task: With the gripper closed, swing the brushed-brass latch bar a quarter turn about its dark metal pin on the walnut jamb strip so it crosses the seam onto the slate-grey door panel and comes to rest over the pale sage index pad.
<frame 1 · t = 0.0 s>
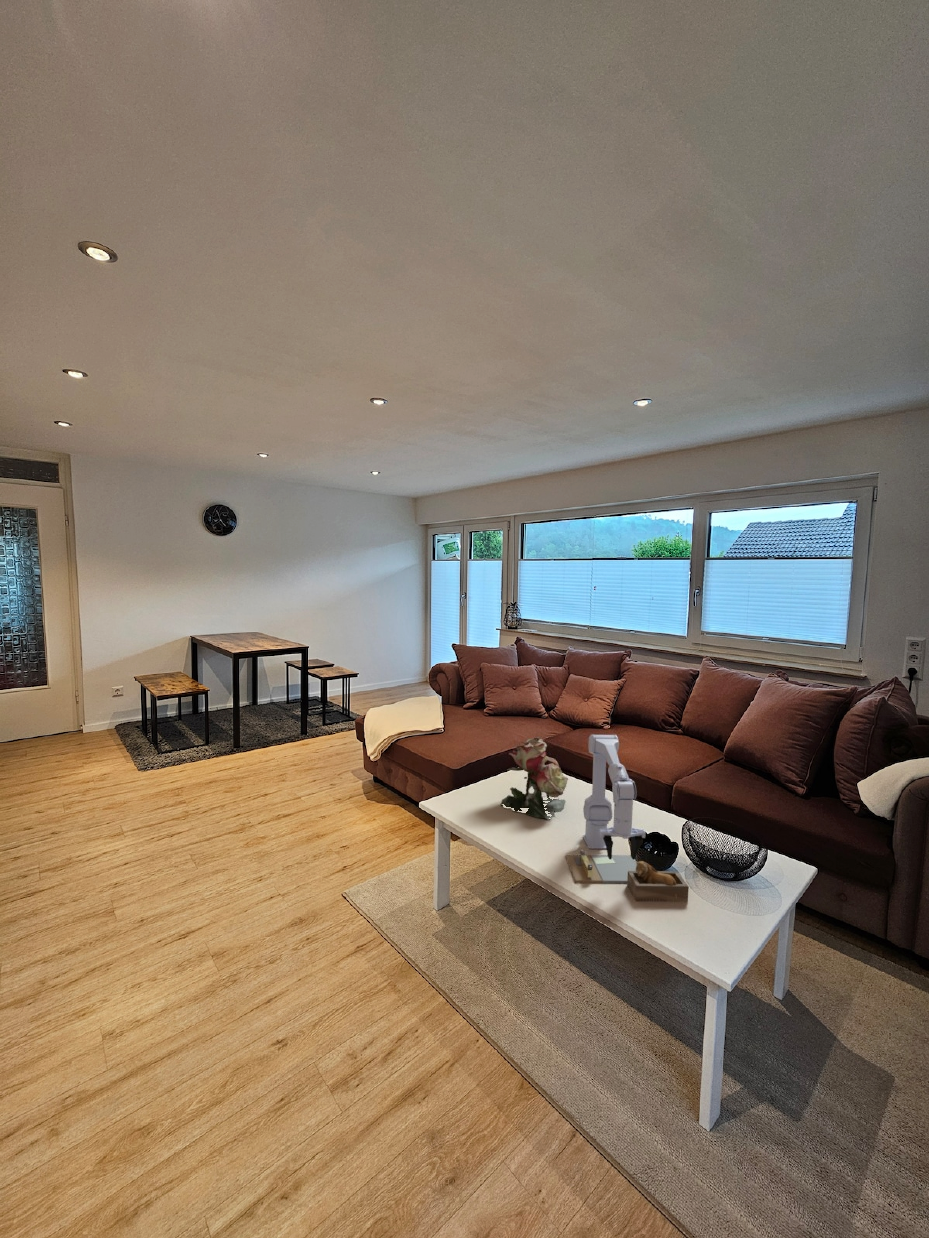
hand: (621, 857, 167), 10 cm above the table, fingers open, 7 cm apart
rose bouquet: (537, 805, 229), on the table
door board: (604, 869, 178), on the table
display tray: (656, 893, 165), on the table
latch bar: (587, 864, 175), point 3 cm above the table, hinge at 0.0°
lion figurine: (656, 893, 165), resting in display tray
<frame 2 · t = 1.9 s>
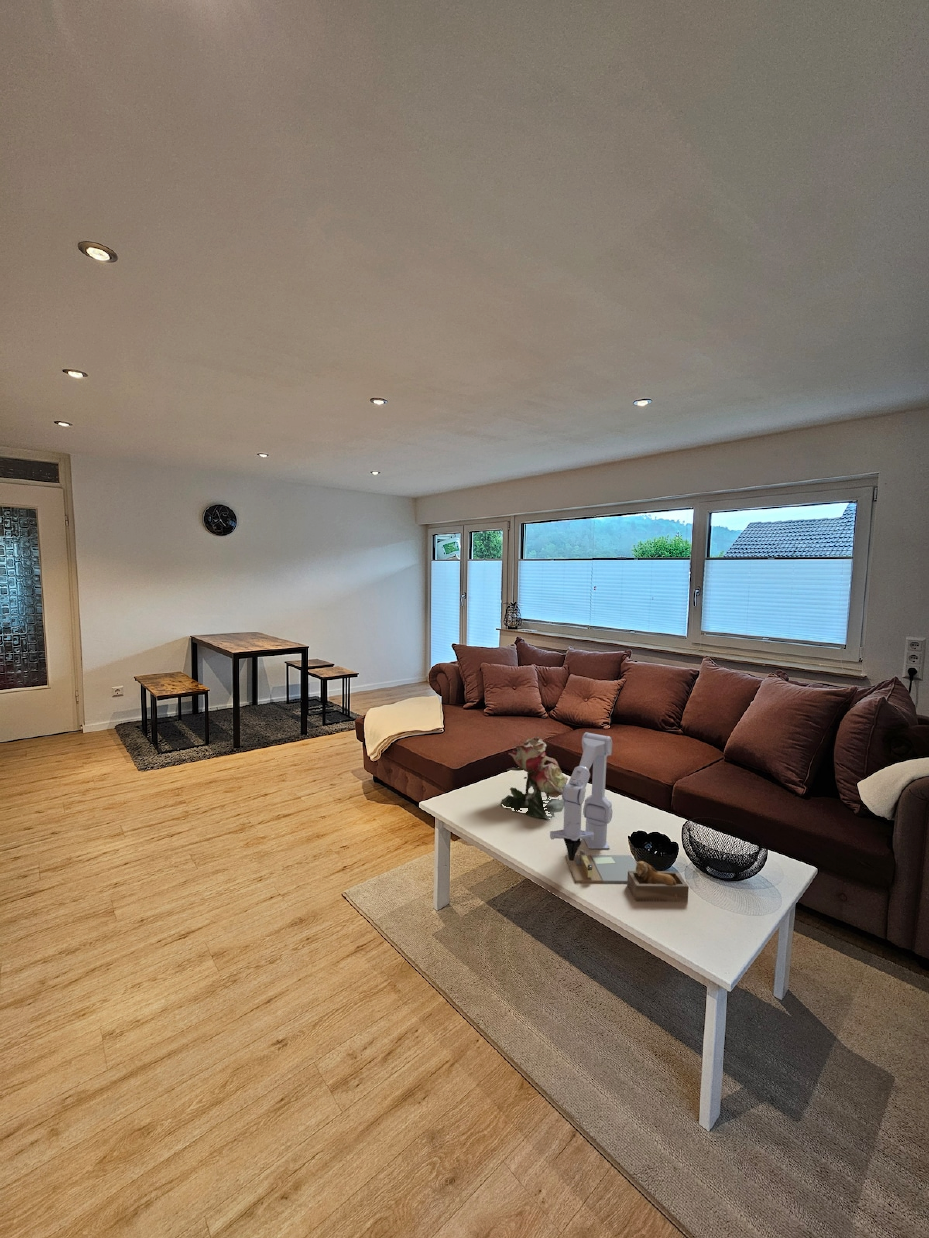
hand: (570, 859, 173), 6 cm above the table, fingers closed
nothing on the table moved.
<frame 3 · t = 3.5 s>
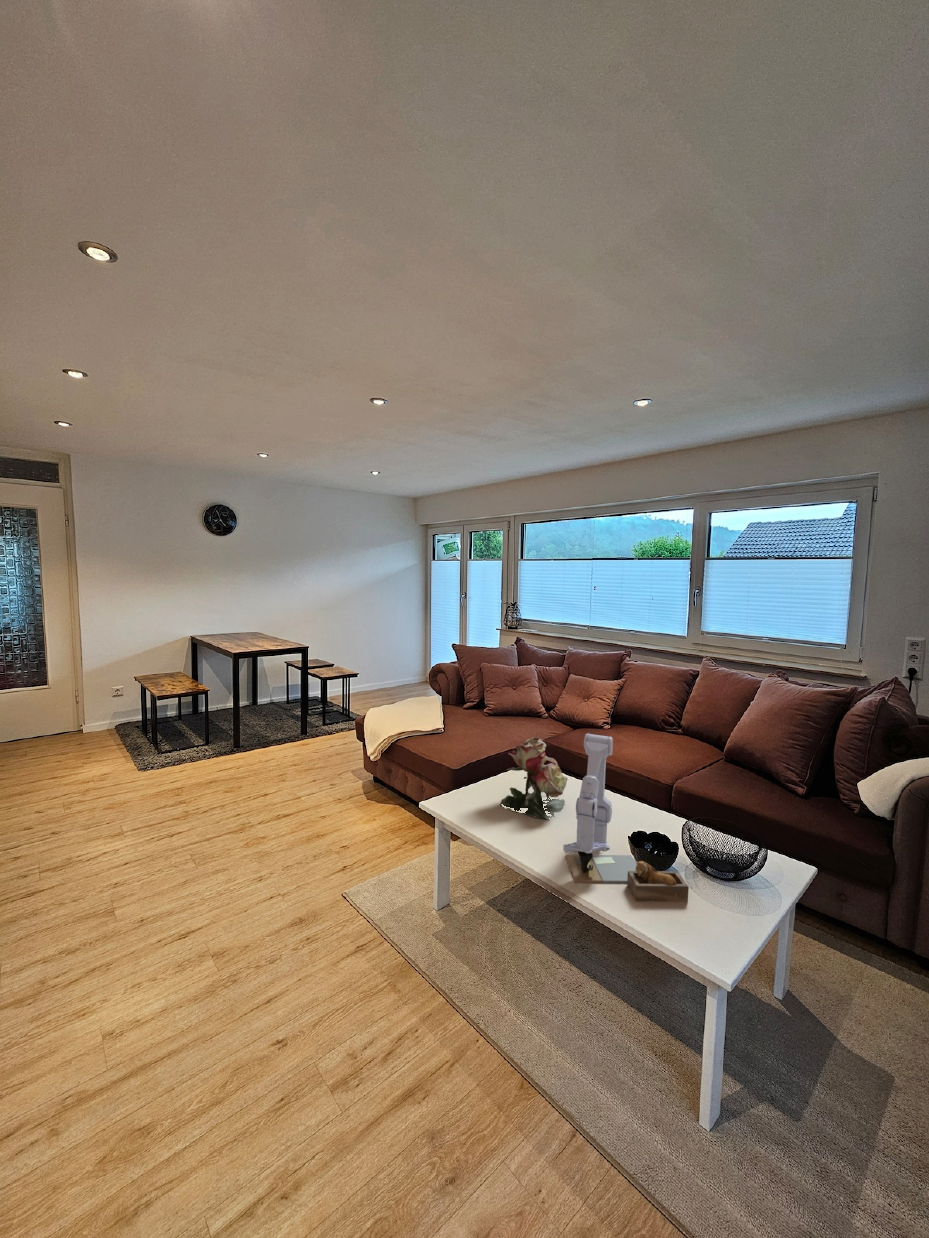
hand: (583, 871, 174), 2 cm above the table, fingers closed, pressing on latch bar
latch bar: (587, 864, 175), point 3 cm above the table, hinge at 1.8°, touching gripper
everything else where it was.
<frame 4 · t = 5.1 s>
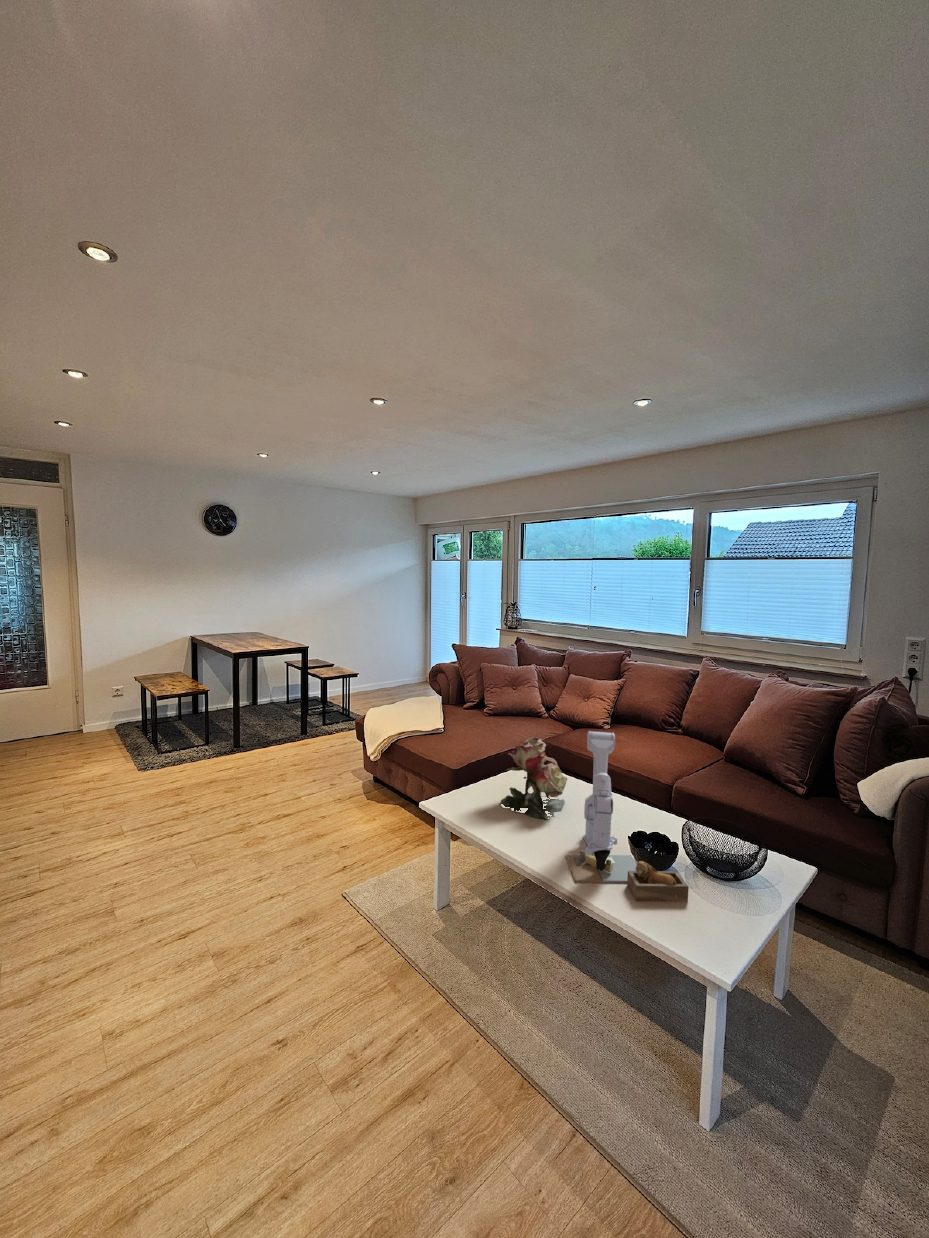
hand: (600, 869, 175), 2 cm above the table, fingers closed, pressing on latch bar
latch bar: (598, 861, 177), point 3 cm above the table, hinge at 46.7°, touching gripper
everything else where it was.
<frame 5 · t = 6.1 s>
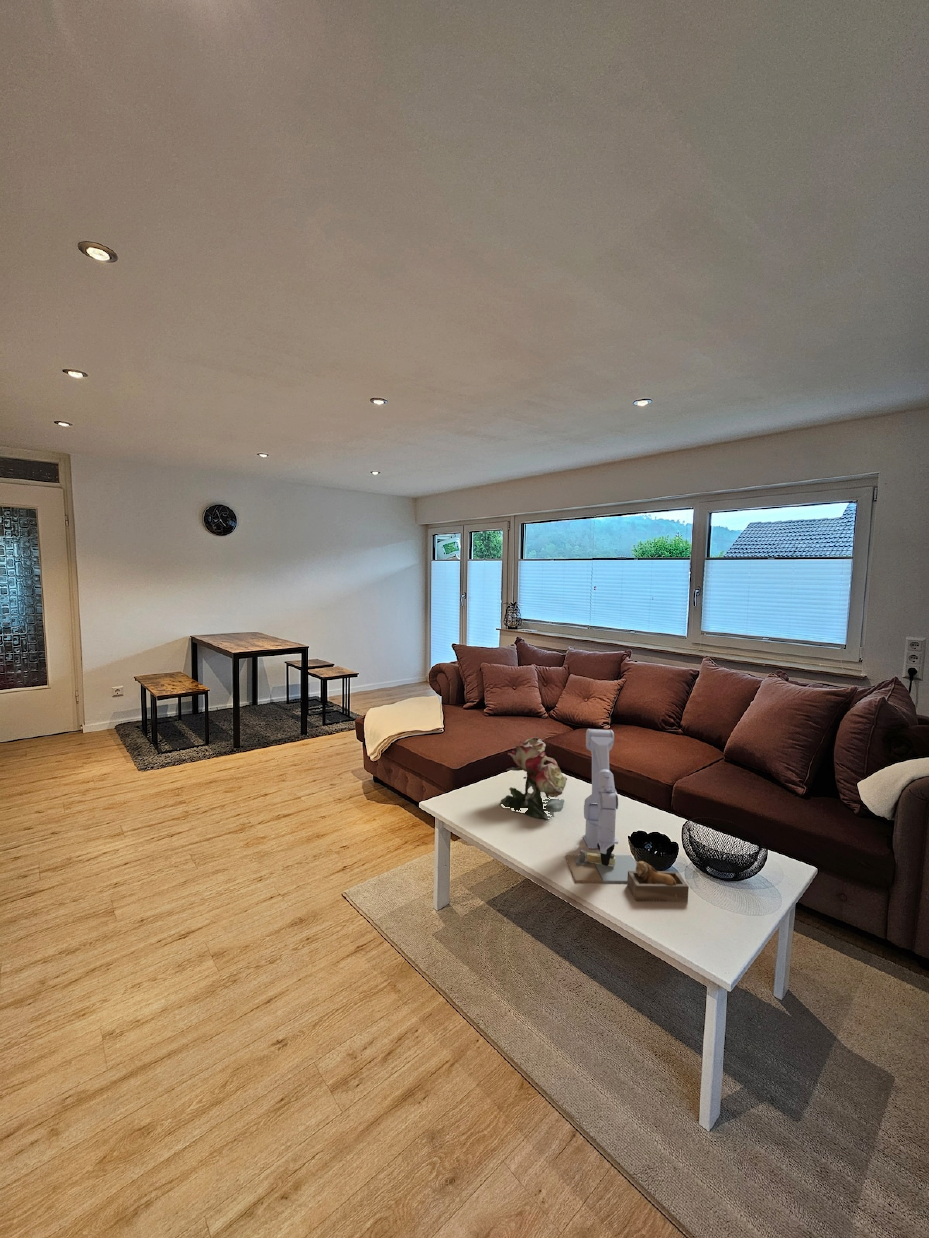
hand: (605, 864, 178), 2 cm above the table, fingers closed, pressing on latch bar
latch bar: (600, 857, 180), point 3 cm above the table, hinge at 73.6°, touching gripper
everything else where it was.
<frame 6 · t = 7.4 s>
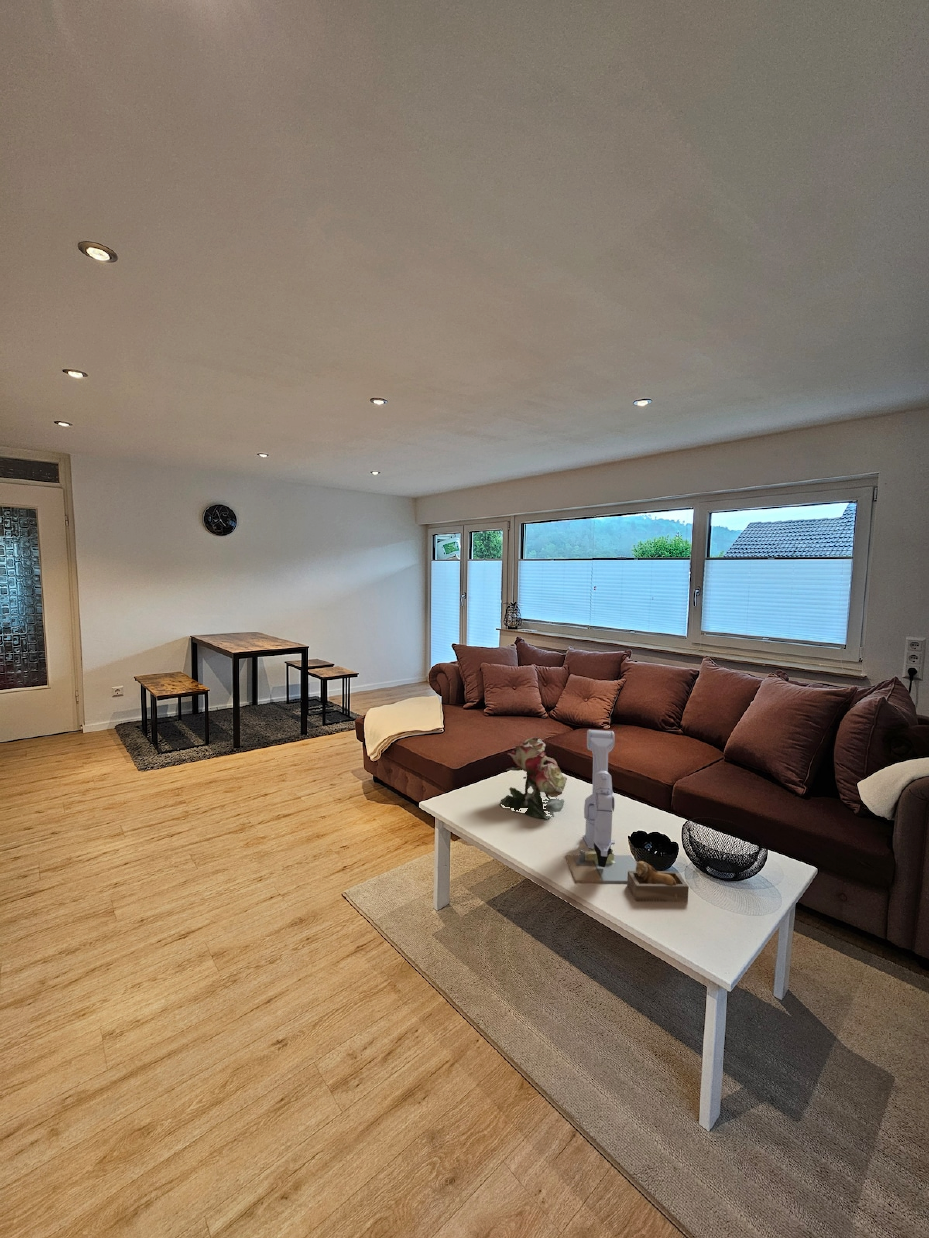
hand: (601, 865, 177), 2 cm above the table, fingers closed
latch bar: (599, 854, 182), point 3 cm above the table, hinge at 91.6°
everything else where it was.
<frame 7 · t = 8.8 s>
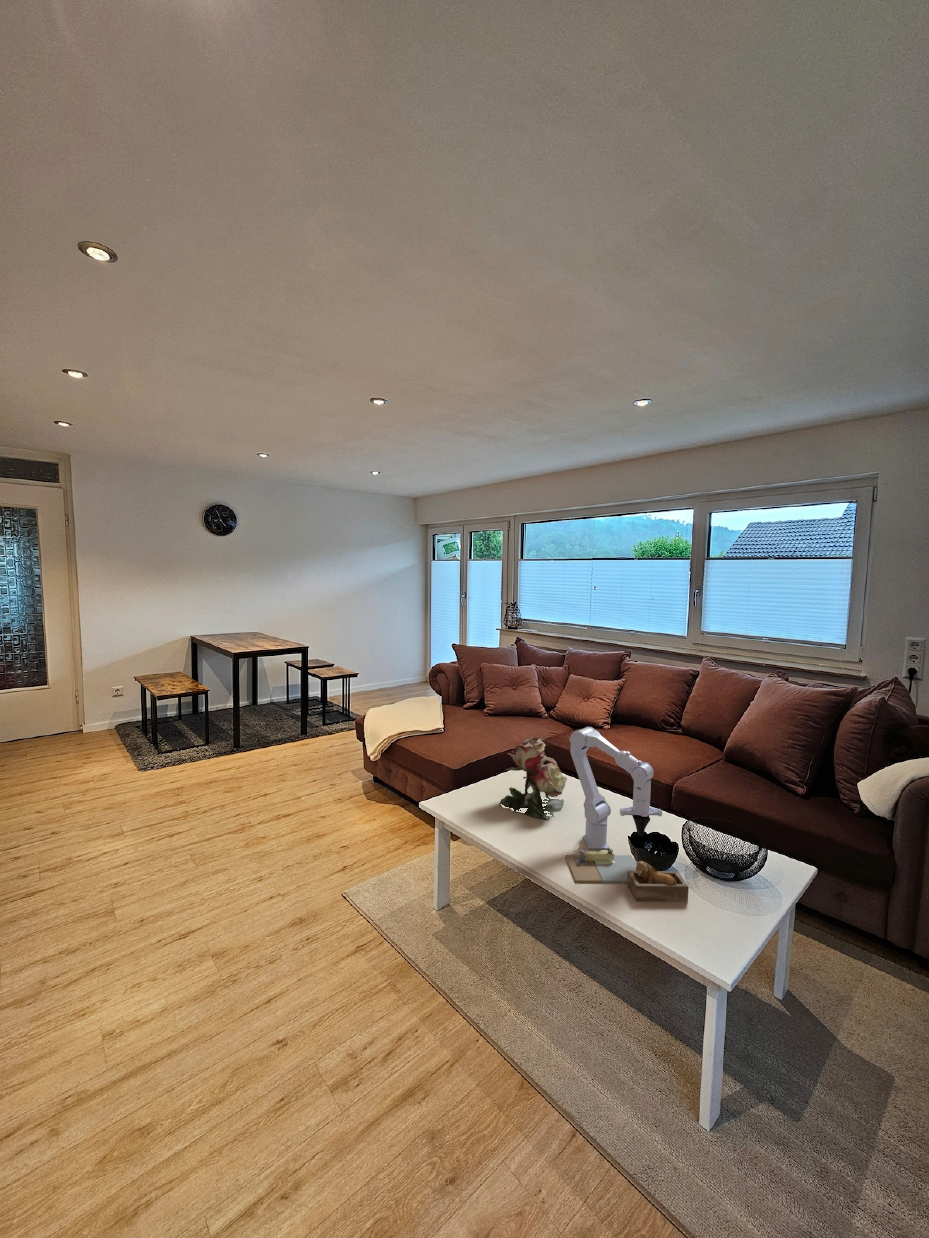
hand: (639, 834, 183), 10 cm above the table, fingers closed
nothing on the table moved.
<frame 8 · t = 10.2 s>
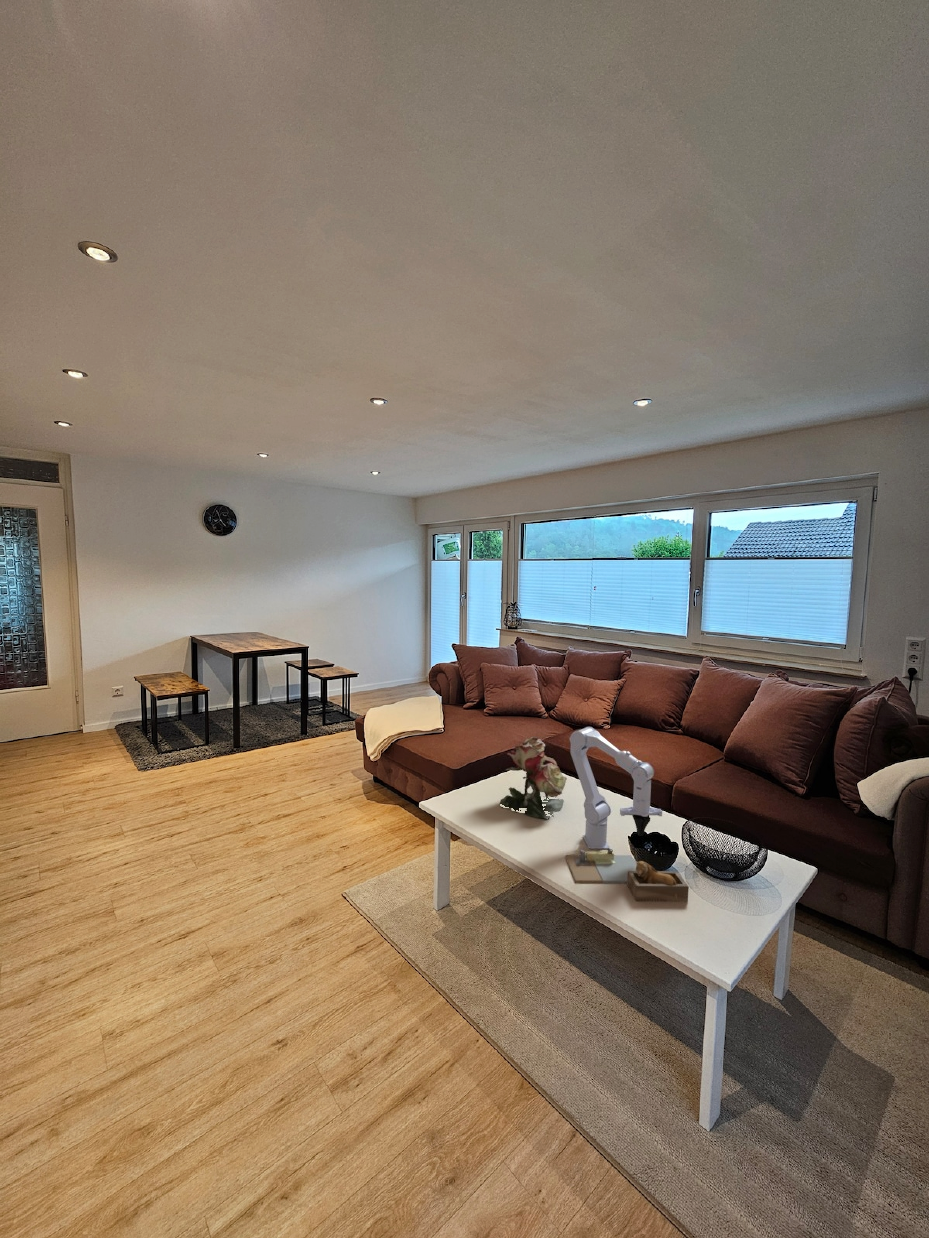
hand: (640, 834, 183), 10 cm above the table, fingers closed
nothing on the table moved.
at the end: latch bar at +92° (first picture: +0°) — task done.
